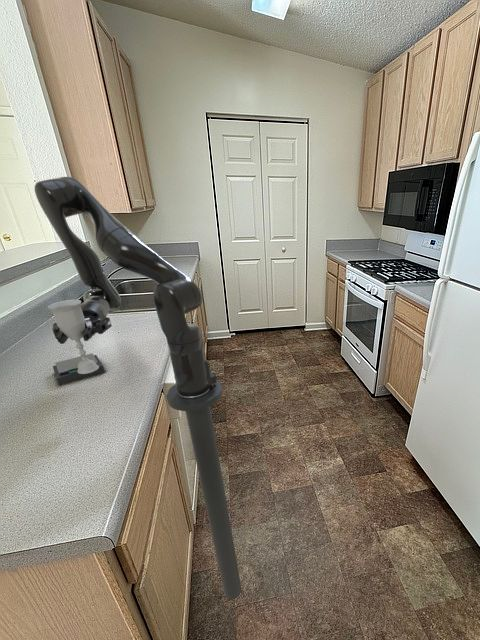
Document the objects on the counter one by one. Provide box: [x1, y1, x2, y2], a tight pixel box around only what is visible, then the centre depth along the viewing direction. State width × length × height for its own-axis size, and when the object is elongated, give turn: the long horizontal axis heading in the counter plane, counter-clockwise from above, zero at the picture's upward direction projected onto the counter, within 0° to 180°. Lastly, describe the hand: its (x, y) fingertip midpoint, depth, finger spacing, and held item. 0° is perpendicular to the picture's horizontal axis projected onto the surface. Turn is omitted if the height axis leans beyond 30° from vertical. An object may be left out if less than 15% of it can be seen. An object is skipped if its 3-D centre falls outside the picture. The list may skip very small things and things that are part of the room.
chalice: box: [47, 299, 99, 374], centre depth 84 cm, size 7×7×18 cm
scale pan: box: [54, 352, 98, 374], centre depth 110 cm, size 11×9×1 cm
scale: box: [52, 354, 106, 387], centre depth 110 cm, size 13×11×3 cm
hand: (72, 338), depth 81 cm, fingers closed on chalice, 4 cm apart
